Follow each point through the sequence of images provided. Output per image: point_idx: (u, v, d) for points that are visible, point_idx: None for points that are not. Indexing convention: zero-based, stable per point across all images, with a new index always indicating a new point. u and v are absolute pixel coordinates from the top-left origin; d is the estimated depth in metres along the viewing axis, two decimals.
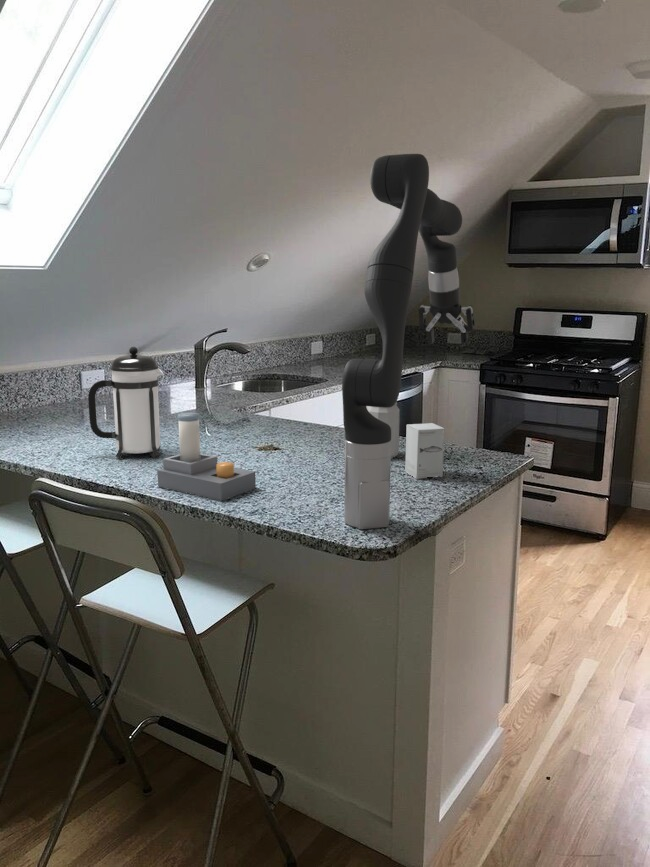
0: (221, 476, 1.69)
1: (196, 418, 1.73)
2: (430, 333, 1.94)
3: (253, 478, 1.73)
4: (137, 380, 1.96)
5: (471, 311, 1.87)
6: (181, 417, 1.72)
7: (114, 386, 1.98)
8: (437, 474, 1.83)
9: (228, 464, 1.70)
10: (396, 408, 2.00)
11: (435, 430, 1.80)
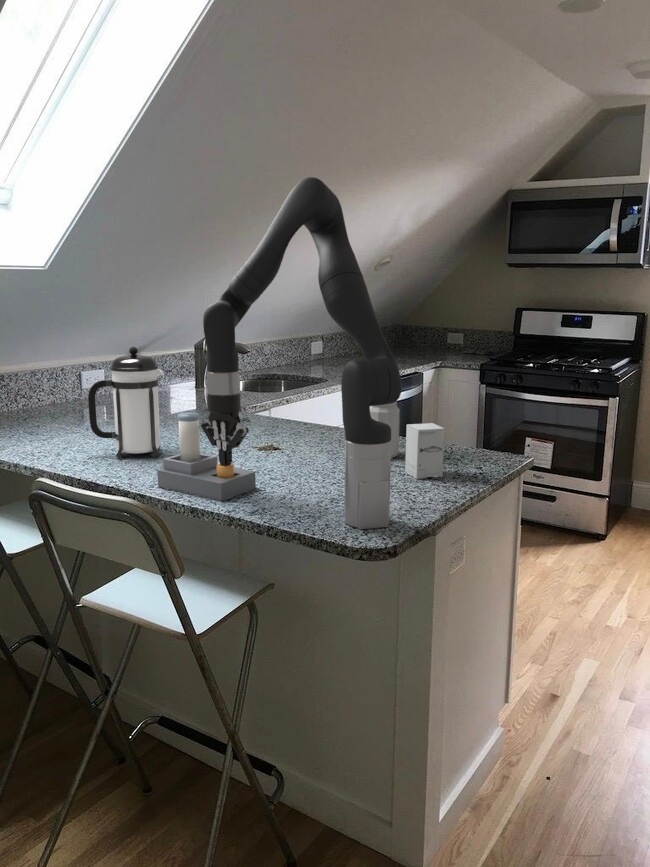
0: (221, 477, 1.69)
1: (196, 418, 1.73)
2: None
3: (253, 478, 1.73)
4: (137, 380, 1.96)
5: None
6: (181, 417, 1.72)
7: (114, 386, 1.98)
8: (437, 474, 1.83)
9: (228, 465, 1.70)
10: (396, 408, 2.00)
11: (435, 430, 1.80)
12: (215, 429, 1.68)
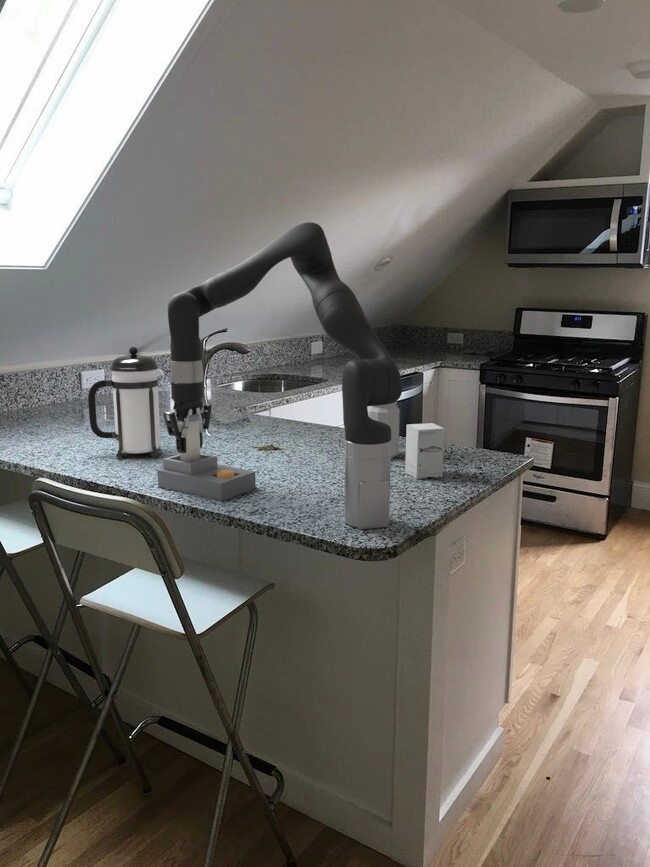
0: None
1: (196, 418, 1.73)
2: None
3: (253, 478, 1.73)
4: (137, 380, 1.96)
5: (166, 417, 1.69)
6: None
7: (114, 386, 1.98)
8: (437, 474, 1.83)
9: (228, 472, 1.70)
10: (396, 408, 2.00)
11: (435, 430, 1.80)
12: (188, 418, 1.71)
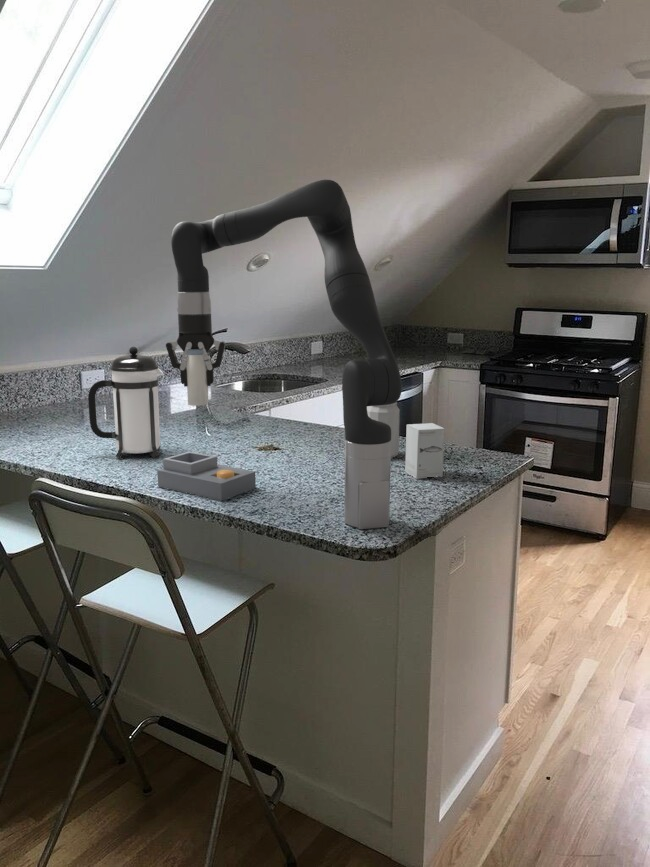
0: None
1: (195, 352, 1.69)
2: None
3: (253, 478, 1.73)
4: (137, 380, 1.96)
5: None
6: None
7: (114, 386, 1.98)
8: (437, 474, 1.83)
9: (228, 472, 1.70)
10: (396, 408, 2.00)
11: (435, 430, 1.80)
12: (186, 351, 1.69)
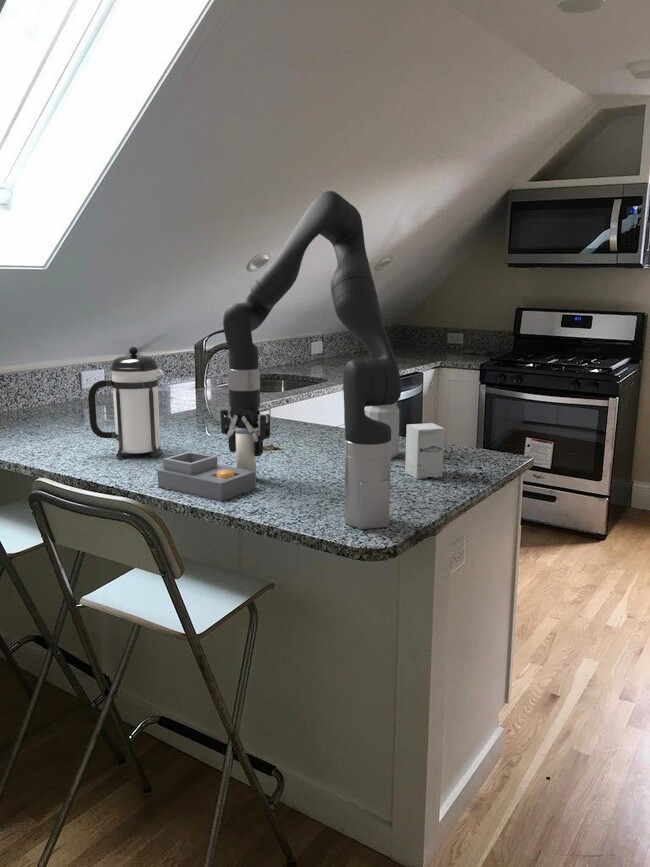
0: None
1: (239, 431, 1.77)
2: None
3: (253, 478, 1.73)
4: (137, 380, 1.96)
5: None
6: None
7: (114, 386, 1.98)
8: (437, 474, 1.83)
9: (228, 472, 1.70)
10: (396, 408, 2.00)
11: (435, 430, 1.80)
12: (233, 422, 1.79)
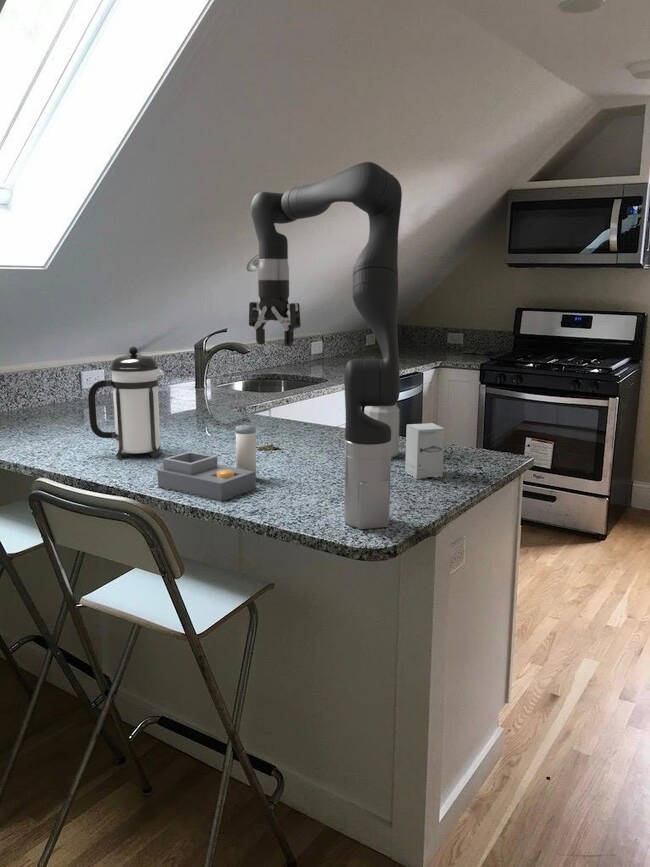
0: None
1: (239, 431, 1.77)
2: None
3: (253, 478, 1.73)
4: (137, 380, 1.96)
5: None
6: None
7: (114, 386, 1.98)
8: (437, 474, 1.83)
9: (228, 472, 1.70)
10: (396, 408, 2.00)
11: (435, 430, 1.80)
12: (262, 313, 1.81)
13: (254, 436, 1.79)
